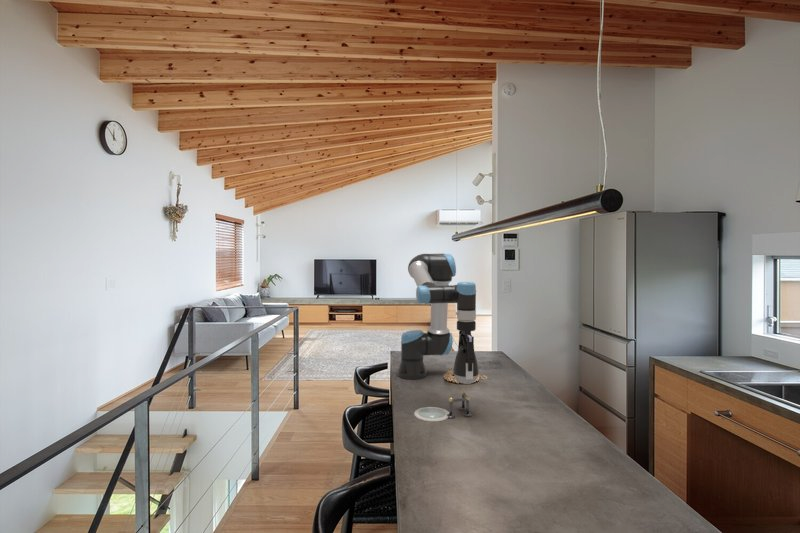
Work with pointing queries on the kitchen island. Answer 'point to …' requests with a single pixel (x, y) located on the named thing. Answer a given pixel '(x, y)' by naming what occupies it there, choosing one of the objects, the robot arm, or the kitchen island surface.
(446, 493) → the kitchen island surface
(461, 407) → the metal corner railing
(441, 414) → the coaster
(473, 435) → the kitchen island surface
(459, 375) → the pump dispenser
